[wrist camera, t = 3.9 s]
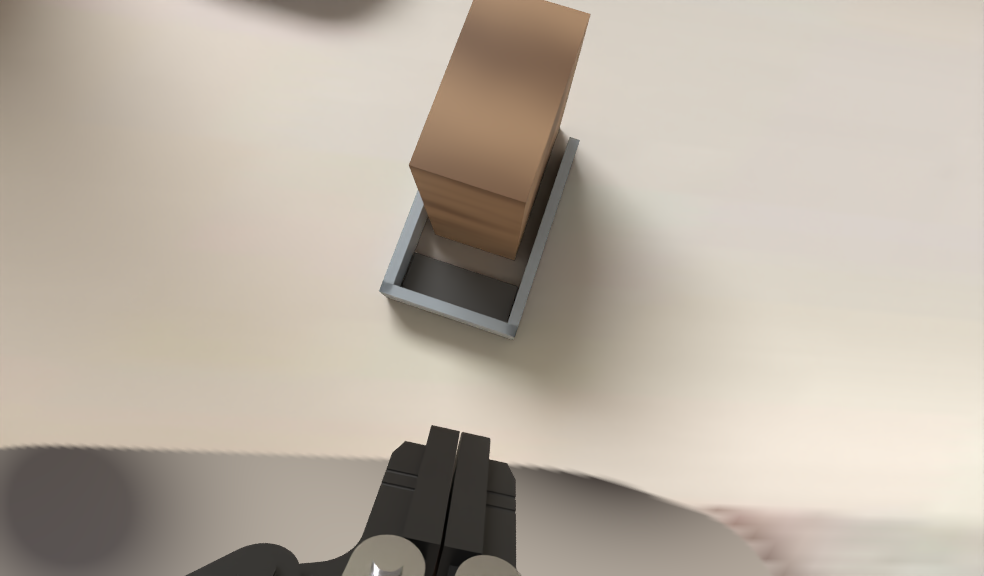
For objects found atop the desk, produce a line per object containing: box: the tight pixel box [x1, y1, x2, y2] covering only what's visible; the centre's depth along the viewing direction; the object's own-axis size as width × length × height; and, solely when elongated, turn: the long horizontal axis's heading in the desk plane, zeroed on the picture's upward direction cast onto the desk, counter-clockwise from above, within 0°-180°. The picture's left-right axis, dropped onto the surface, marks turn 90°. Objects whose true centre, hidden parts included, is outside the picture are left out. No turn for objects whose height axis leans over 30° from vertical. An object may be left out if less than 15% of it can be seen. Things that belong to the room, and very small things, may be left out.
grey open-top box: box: [379, 137, 580, 340], centre depth 30 cm, size 12×8×2 cm, turn 161°
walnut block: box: [409, 0, 590, 260], centre depth 26 cm, size 9×5×10 cm, turn 161°
